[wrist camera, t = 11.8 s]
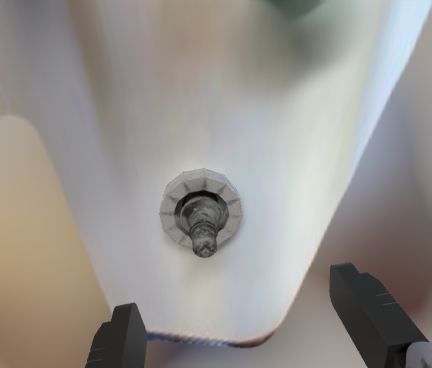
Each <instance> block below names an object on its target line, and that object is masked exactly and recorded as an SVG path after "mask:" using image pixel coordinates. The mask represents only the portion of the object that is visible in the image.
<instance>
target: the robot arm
mask: <svg viewBox="0 0 432 368" xmlns="http://www.w3.org/2000/svg"><path fill="white" fill-rule="evenodd" d="M329 292H330V298H331V302H332V304H333V307H334V309H335V310H336V312H337V314H338V316H339V318H340V319H341V321H342V323H343V325H344V326H345V328H346V330H347V332H348V334H349V335H350V337H351V339H352V340H353V342H354V344H355V346H356V348H357V350H358V351H359V353H360V355H361V357H362V358H363V360H364V362H365V364H366V366H367V367H368V368H432V343H430V342H429V341H428V340H427V339H426V337H425V336H424V335H423V334H422V333H421V331H420V330H419V329H418V328H417V326H416V325H415V324H414V323H413V322H412V320H411V319H410V318H409V316H408V315H407V314H406V313H405V312H404V310H403V309H402V308H401V307H400V305H399V304H397V303H396V301H395V299H394V298H393V297H392V296H391V294H389V292H388V291H387V290H386V288H385V287H384V286H383V284H382V283H381V282H380V281H379V280H377V279H376V278H374V277H373V276H371V275H370V274H368V273H362V274H360V273H359V272H358V271H357V269H356V268H355V267H354V265H353V264H352V263H351V262H346V263H341V264H336V265H331V267H330V290H329ZM146 345H147V335H146V329H145V326H144V323H143V320H142V318H141V315H140V313H139V310H138V307H137V305H136V303H130V304H125V305H119V306H116V307H115V308H114V311H113V315H112V319H111V322H105V323H103V324H102V325H101V327H100V328H99V330H98V331H97V333H96V334H95V336H94V339H93V342H92V346H91V349H90V350H91V352H90V353H89V356H88V359H87V364H86V366H85V368H144V363H145V354H146Z"/></svg>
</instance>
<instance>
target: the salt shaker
mask: <svg viewBox="0 0 432 368" xmlns="http://www.w3.org/2000/svg"><path fill="white" fill-rule="evenodd" d="M182 207H183V208H182V210H181V213H180V221H181V224H182V226H183V227H184V228H185V229H186V230H187V231H188V232H189V237H190V239H191V240H192V247H193V251H194V253H195V254H196V255H197V256H199V257H203V258H206V257H210V256H212V255H213V254H214V253H215V252H216V250H217V241H216V238H217V236H218V229H217V228H218V227H219V226H220V225H221V223H222V221H223V211H222V208H221V206H220V205H219V204H218V199H217V197H216V195H215V194H214V193H213V192H210V191H206V190H201V191H195V192H190V193H188V194H187V195H185V197H184V199H183V202H182Z"/></svg>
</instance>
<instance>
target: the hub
mask: <svg viewBox="0 0 432 368" xmlns="http://www.w3.org/2000/svg"><path fill="white" fill-rule="evenodd" d="M201 190H206V191H210V192H213V193H216V194H219V195H220V197H221V198H222V199H223V200H224V201H225V202H226V205H227V206H226V208H225V211H224V213H223V221H222V223H221V225H220V226H219V227H218V228H217V229H218V236H217V238H216V241H217V245H219V244H221V243H222V242H223V241H225V240H226V239H228V238H229V237H230V236H232V235H233V234H234V233H235V231H236V229H237V227H238V225H239V223H240V220H241V218H242V212H241V205H240V198H239V195H238V193H237V190H236V188H235V187H234V186H233V185H232V184H231V183H230V181H229V180H228V179H227V178H226V177H225V176H224V175H223V174H219V173H216V172H213V171H210V170H207V169H199V170H193V171H188V172H183V173H182V174H180V175H179V176H178V177H177V178H175V179H174V180H173V181H172V182H170V183H169V184H168V185H167V187H166V190H165V192H164V195H163V198H162V201H161V206H160V213H159V214H160V218H161V221H162V225H163V228H164V232H165V233H167V234H168V235H169V236H170V237H171V238H172V239H173V240H174V241H176V242H177V243H178V244H180V245H184V246H188V247H192V240H191V239H190V237H189V232H188V231H187V230H186V229H185V228H184V227H183V226H182V224H181V221H180V218H179V217H178V216H177V215H176V211H175V207H176V205H177V202H178V201H179V200H180V199H182V198H183V197H184V196H185V195H187V194H188V193H190V192H195V191H201ZM192 248H193V247H192Z"/></svg>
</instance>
